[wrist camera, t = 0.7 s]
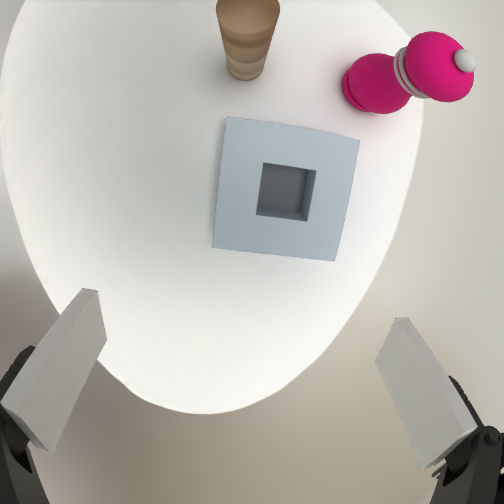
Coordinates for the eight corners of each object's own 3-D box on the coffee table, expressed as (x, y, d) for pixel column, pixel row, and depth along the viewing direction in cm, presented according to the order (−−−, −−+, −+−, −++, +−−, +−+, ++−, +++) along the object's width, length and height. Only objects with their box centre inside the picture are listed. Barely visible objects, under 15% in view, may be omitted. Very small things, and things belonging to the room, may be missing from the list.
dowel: (231, 50, 27) (221, -17, 12) (264, 54, 28) (283, -11, 12) (226, 79, 29) (211, 29, 13) (260, 83, 29) (276, 36, 14)
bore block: (229, 120, 31) (226, 116, 26) (344, 139, 32) (359, 140, 27) (216, 232, 36) (212, 247, 31) (323, 245, 37) (334, 261, 32)
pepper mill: (396, 84, 29) (509, 64, 10) (375, 126, 31) (491, 131, 13) (351, 52, 27) (446, -6, 9) (328, 95, 30) (421, 57, 11)
